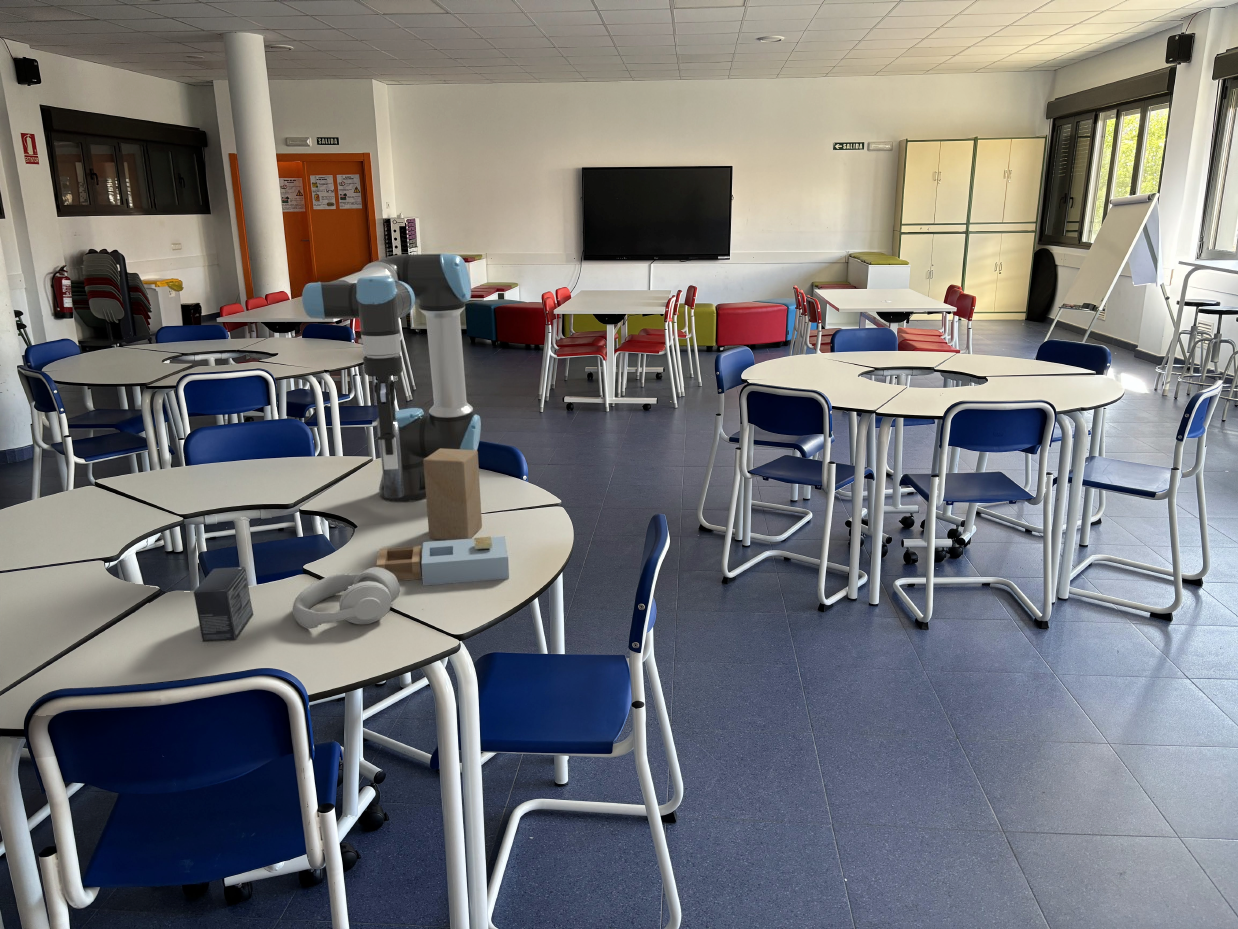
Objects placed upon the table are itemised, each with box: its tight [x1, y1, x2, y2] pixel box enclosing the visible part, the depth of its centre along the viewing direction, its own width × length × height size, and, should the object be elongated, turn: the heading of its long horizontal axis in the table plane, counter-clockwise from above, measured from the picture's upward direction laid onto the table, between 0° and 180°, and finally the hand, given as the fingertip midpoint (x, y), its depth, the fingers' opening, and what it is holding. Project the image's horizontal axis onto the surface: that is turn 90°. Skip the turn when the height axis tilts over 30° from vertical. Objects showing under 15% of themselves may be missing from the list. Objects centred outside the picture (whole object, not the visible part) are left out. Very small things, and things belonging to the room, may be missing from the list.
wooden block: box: [423, 448, 483, 541], centre depth 208 cm, size 10×10×20 cm
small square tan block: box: [474, 536, 492, 551], centre depth 189 cm, size 4×4×6 cm
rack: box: [375, 545, 423, 582], centre depth 188 cm, size 9×9×4 cm
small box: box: [193, 566, 254, 643], centre depth 163 cm, size 11×6×10 cm, turn 5°
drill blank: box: [377, 420, 404, 498], centre depth 181 cm, size 4×4×16 cm
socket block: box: [421, 535, 510, 586], centre depth 189 cm, size 12×18×5 cm, turn 101°
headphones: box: [292, 566, 401, 630], centre depth 170 cm, size 18×8×20 cm
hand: (391, 465), depth 182 cm, fingers closed on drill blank, 4 cm apart
